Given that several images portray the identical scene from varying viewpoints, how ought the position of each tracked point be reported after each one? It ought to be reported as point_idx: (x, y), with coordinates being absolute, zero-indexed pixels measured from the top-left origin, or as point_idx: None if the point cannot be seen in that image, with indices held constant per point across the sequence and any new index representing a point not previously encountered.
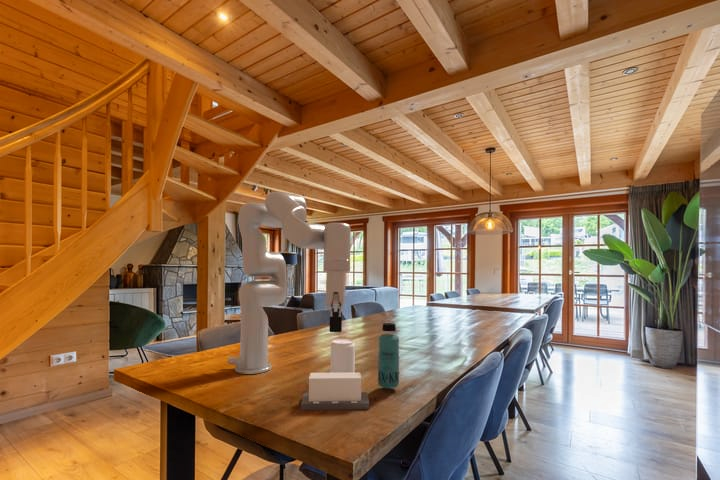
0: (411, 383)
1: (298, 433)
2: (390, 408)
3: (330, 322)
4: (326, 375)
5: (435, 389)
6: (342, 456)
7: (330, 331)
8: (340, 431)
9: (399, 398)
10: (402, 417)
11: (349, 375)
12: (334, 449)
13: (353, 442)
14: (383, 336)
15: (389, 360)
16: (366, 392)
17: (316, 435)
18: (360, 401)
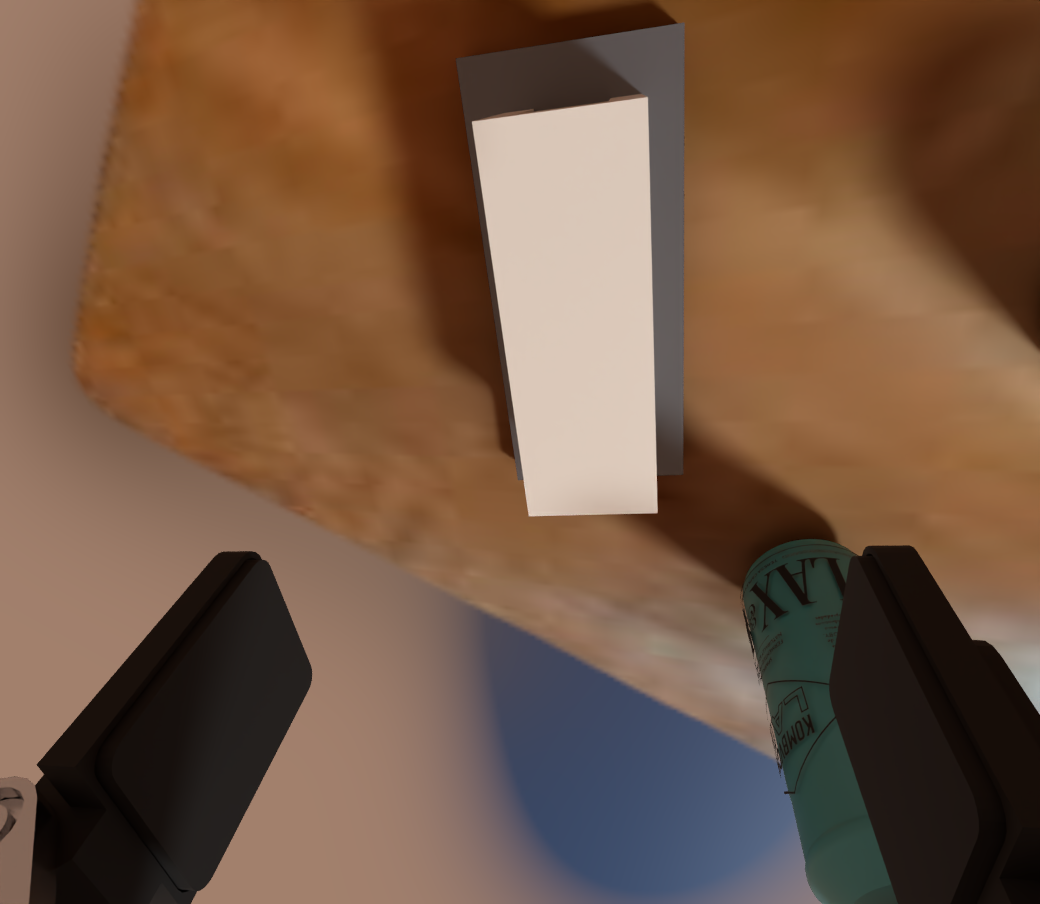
0: None
1: (177, 132)
2: (538, 550)
3: (130, 674)
4: (570, 271)
5: (775, 740)
6: (84, 364)
7: (228, 561)
8: (262, 342)
9: (664, 597)
10: (450, 581)
11: (579, 445)
12: (115, 331)
13: (192, 399)
14: (877, 873)
15: (773, 717)
16: (677, 471)
17: (191, 235)
18: None
